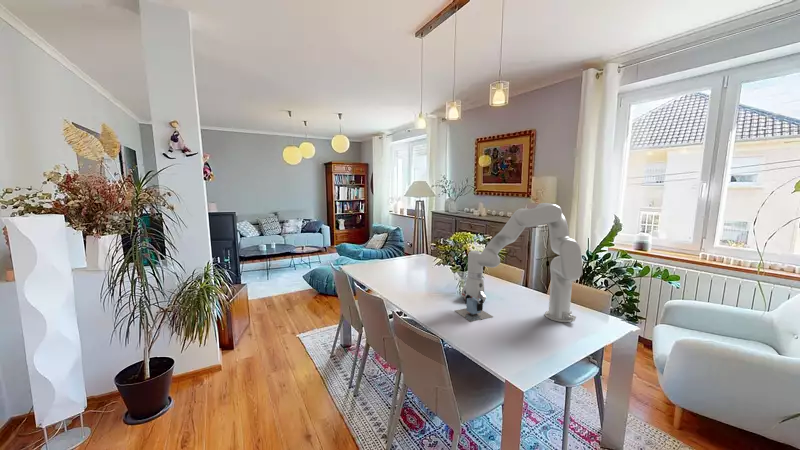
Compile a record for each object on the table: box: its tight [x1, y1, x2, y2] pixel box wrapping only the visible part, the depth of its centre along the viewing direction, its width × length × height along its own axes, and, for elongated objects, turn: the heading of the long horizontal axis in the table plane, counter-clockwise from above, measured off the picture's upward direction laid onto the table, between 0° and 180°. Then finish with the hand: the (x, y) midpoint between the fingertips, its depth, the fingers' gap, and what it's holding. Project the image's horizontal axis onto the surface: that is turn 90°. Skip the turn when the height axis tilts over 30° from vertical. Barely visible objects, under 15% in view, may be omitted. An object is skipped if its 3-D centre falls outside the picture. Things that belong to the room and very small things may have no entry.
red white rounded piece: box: [460, 287, 472, 301], centre depth 178 cm, size 9×11×15 cm
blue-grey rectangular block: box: [466, 297, 481, 314], centre depth 158 cm, size 5×5×7 cm
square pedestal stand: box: [454, 307, 494, 323], centre depth 158 cm, size 14×14×7 cm
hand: (473, 307), depth 158 cm, fingers open, 9 cm apart
